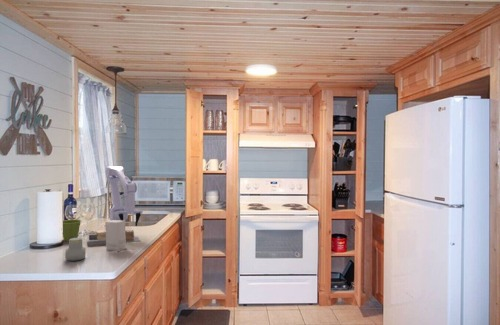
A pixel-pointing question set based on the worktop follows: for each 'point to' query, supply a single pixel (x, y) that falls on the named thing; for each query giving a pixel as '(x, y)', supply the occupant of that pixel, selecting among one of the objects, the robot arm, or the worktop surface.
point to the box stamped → (129, 235)
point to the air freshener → (75, 250)
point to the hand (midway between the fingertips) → (129, 226)
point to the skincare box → (115, 235)
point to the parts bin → (95, 241)
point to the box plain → (100, 235)
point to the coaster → (134, 239)
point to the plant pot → (70, 229)
